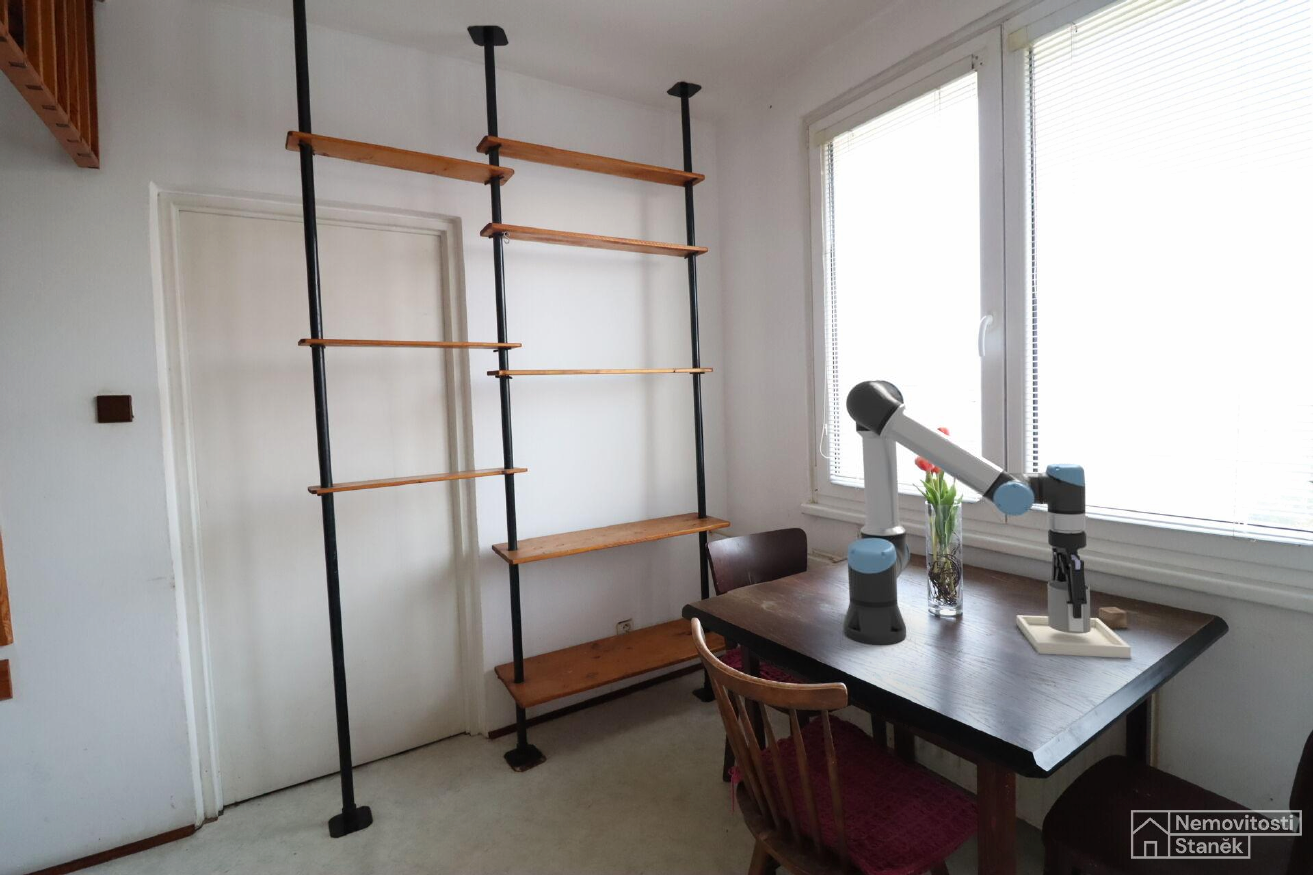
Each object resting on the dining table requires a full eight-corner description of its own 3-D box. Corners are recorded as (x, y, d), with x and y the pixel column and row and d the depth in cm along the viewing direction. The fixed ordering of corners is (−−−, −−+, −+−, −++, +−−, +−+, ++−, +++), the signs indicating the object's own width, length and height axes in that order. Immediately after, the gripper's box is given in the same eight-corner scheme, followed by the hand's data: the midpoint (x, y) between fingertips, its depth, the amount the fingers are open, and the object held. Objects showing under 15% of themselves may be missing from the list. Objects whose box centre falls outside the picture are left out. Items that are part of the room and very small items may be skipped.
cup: (1097, 633, 142) (1096, 591, 142) (1057, 633, 144) (1056, 591, 143) (1080, 620, 150) (1079, 580, 150) (1042, 620, 152) (1041, 580, 151)
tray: (1038, 653, 141) (1037, 642, 141) (1016, 624, 158) (1016, 615, 158) (1130, 658, 136) (1130, 647, 136) (1098, 628, 153) (1097, 618, 153)
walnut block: (1110, 628, 153) (1110, 613, 152) (1099, 623, 157) (1098, 607, 156) (1126, 628, 152) (1126, 612, 152) (1115, 622, 156) (1115, 606, 156)
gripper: (1103, 540, 135) (1105, 641, 136) (1069, 520, 155) (1071, 609, 156) (1064, 539, 137) (1066, 639, 138) (1035, 520, 157) (1037, 607, 158)
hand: (1069, 623), depth 147 cm, fingers closed on cup, 8 cm apart
